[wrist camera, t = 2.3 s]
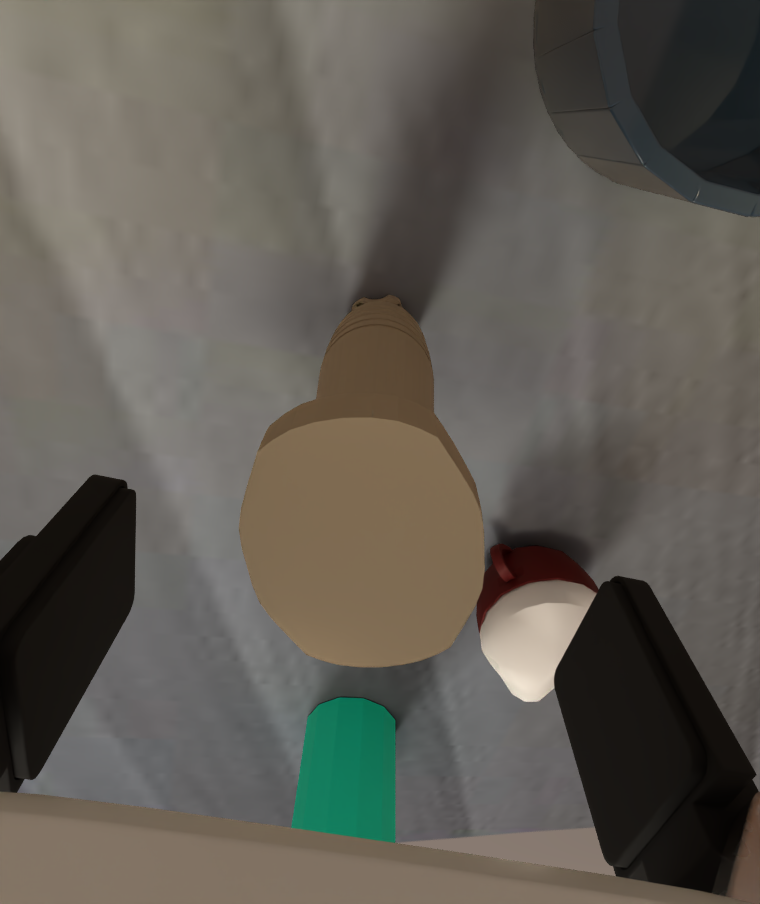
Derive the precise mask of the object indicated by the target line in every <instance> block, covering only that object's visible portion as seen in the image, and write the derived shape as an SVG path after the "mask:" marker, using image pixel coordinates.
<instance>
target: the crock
mask: <svg viewBox="0 0 760 904" xmlns="http://www.w3.org/2000/svg"><path fill="white" fill-rule="evenodd" d="M533 47H534V58H535V69H536V73H537V78H538V83H539V87H540V92H541V95H542V98H543V101H544V103H545V106H546V109H547V112H548V114H549V116H550V118H551V120H552V122H553V124H554V126H555V128H556V130H557V132H558V133H559V134H560V136H561V137H562V139H563V140H564V141H565V143H566V144H567V146H568V147H569V148H570V149H571V150H572V151H573V152H574V153H575V154H576V156H577V157H578V158H579V159H580V160H581V161H582V162H584V163H585V164H586V165H588V166H589V167H590V168H592V169H593V170H594V171H596V172H597V173H599V174H601V175H603V176H605V177H607V178H608V179H609V180H611V181H612V182H615V183H617V184H621V185H625V186H629V187H633V188H636V189H640V190H644V191H648V192H652V193H656V194H660V195H663V196H667V197H671V198H675V199H679V200H683V201H687V202H690V203H694V204H698V205H702V206H706V207H710V208H714V209H718V210H722V211H726V212H730V213H733V214H737V215H741V216H745V217H760V0H536V4H535V12H534V30H533Z"/></svg>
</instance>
